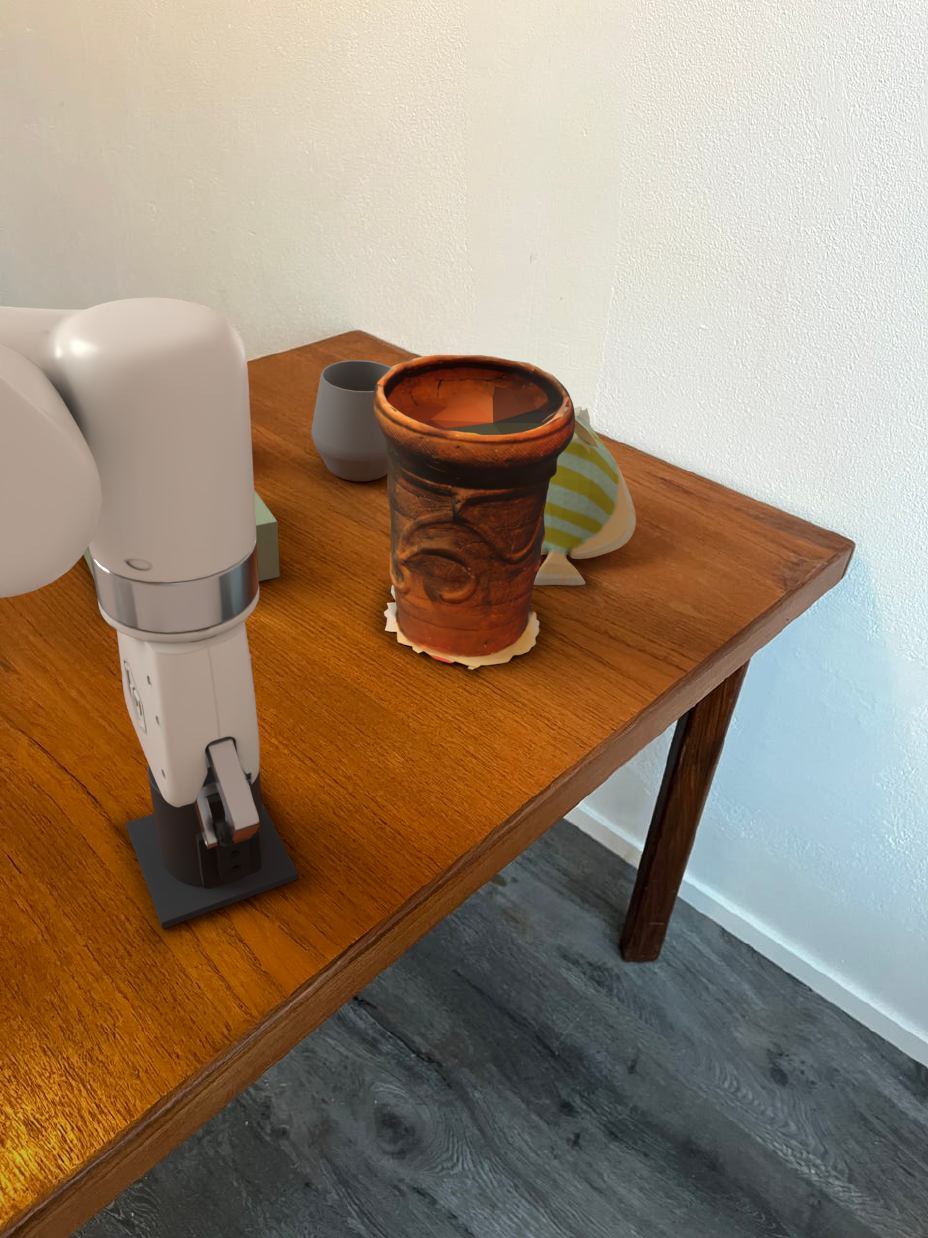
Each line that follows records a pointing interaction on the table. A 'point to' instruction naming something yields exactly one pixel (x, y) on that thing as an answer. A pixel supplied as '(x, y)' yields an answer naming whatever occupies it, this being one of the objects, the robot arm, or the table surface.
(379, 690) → the table surface
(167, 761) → the robot arm
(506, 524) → the vessel
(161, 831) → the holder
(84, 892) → the table surface
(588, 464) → the decorative fish sculpture
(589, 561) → the table surface
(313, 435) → the cup
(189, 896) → the pad
